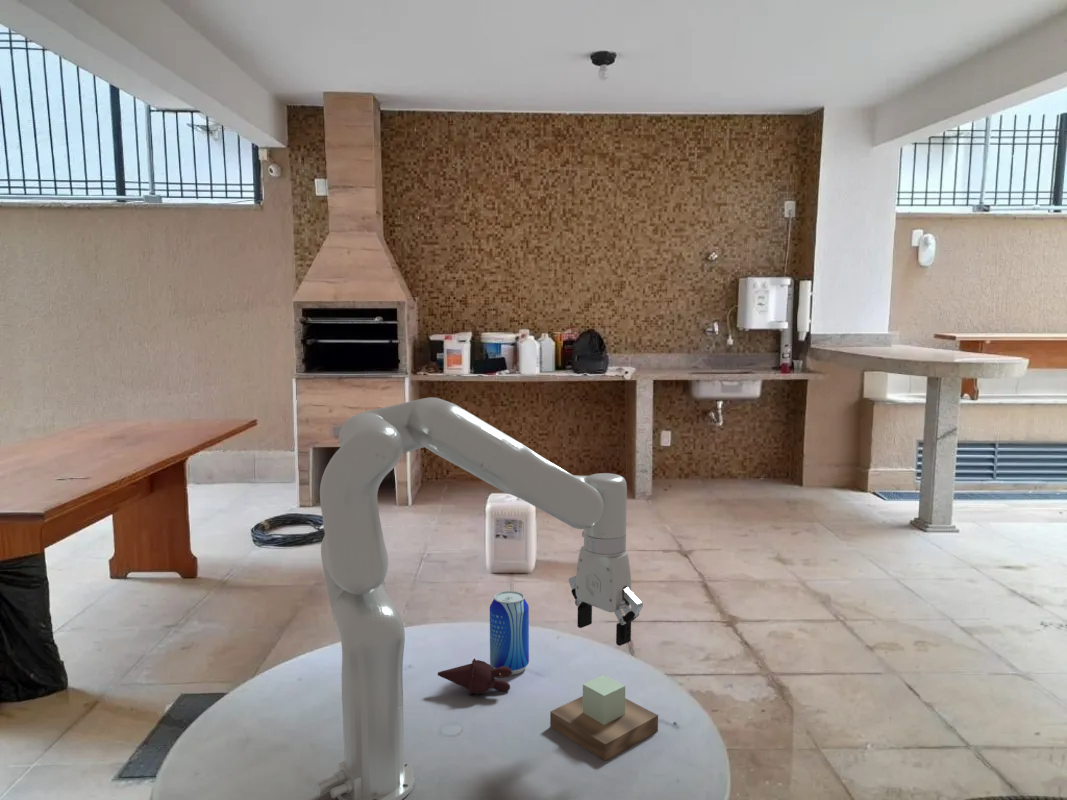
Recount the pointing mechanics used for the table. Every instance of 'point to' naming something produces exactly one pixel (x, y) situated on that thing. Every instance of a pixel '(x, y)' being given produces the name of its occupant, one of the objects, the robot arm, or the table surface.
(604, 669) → the table surface
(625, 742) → the walnut base
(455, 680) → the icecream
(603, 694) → the sage cube
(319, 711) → the table surface
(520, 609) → the beer can
